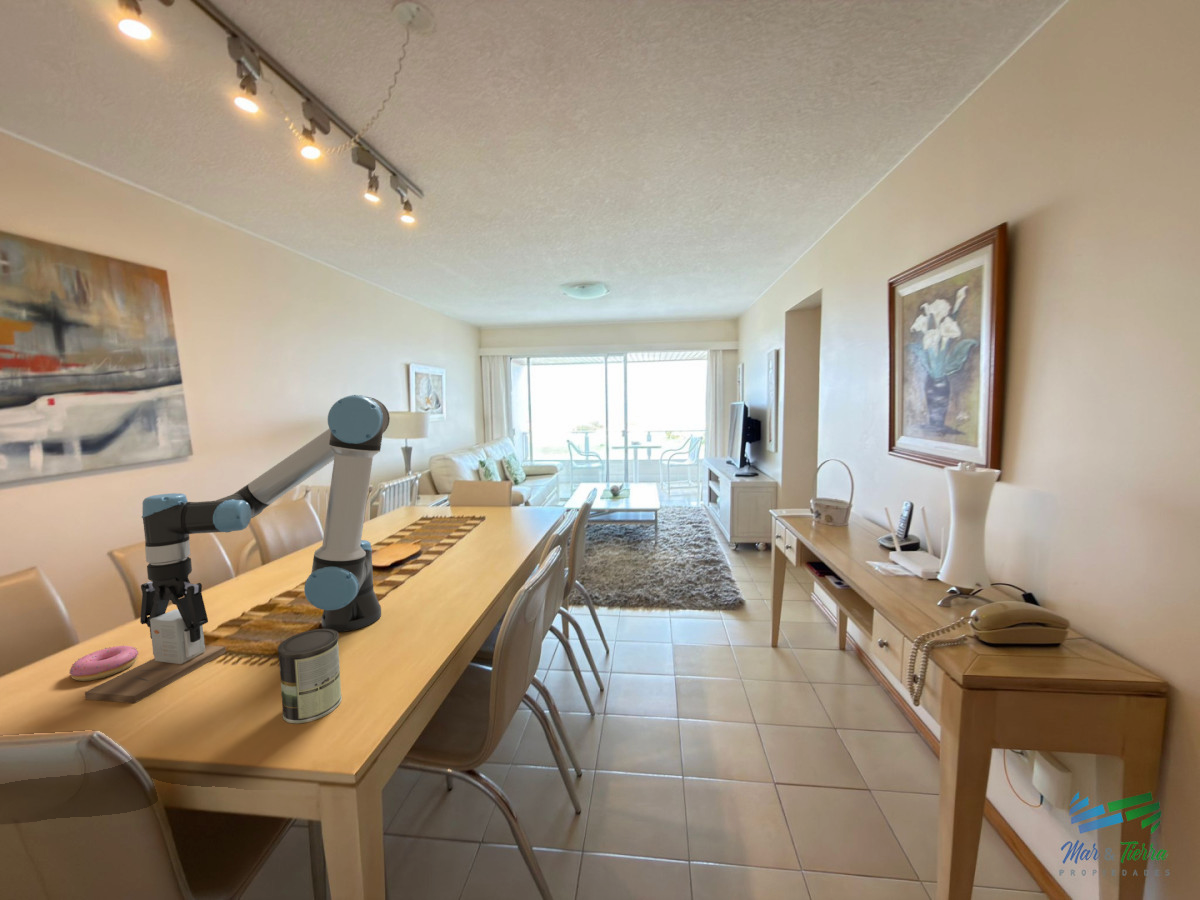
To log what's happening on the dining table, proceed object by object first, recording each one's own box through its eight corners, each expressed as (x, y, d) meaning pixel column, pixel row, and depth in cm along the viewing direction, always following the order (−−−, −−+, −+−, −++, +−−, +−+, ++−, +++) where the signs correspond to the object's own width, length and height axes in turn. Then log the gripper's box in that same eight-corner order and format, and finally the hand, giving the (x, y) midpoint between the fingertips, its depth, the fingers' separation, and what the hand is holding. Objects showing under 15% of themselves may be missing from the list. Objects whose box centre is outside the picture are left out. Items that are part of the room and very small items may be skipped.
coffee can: (270, 726, 86) (265, 655, 85) (301, 692, 96) (297, 629, 95) (326, 722, 87) (322, 652, 86) (351, 690, 97) (347, 627, 96)
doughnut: (109, 657, 111) (108, 641, 111) (152, 658, 111) (151, 641, 111) (55, 684, 100) (53, 666, 100) (102, 684, 100) (100, 666, 100)
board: (225, 652, 113) (225, 646, 113) (134, 703, 93) (134, 696, 93) (183, 649, 114) (183, 643, 114) (85, 699, 95) (84, 692, 95)
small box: (206, 652, 110) (202, 611, 109) (180, 665, 105) (176, 621, 104) (179, 649, 112) (176, 608, 111) (153, 661, 106) (149, 618, 105)
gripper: (224, 556, 108) (230, 647, 110) (148, 553, 111) (156, 642, 112) (192, 567, 100) (199, 664, 102) (111, 563, 103) (120, 658, 105)
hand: (176, 652), depth 107 cm, fingers open, 8 cm apart
